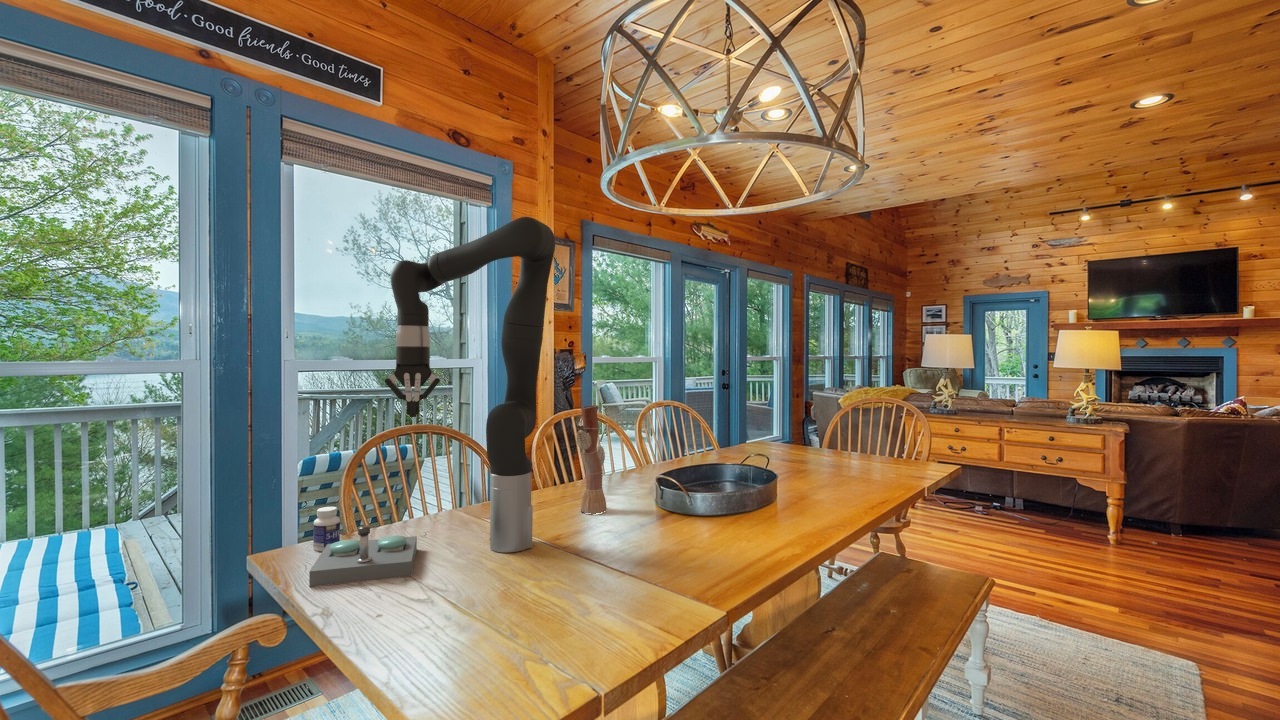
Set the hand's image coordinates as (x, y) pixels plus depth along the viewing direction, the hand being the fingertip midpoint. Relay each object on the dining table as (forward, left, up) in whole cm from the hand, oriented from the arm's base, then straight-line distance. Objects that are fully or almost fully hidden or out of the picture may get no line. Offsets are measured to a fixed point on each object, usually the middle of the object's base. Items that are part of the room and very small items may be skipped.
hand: (412, 416), depth 137 cm
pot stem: (+7, +23, -26) cm, 36 cm away
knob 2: (+3, +16, -29) cm, 33 cm away
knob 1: (+12, +16, -29) cm, 35 cm away
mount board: (+7, +18, -29) cm, 35 cm away
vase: (-46, -8, -29) cm, 55 cm away
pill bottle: (+18, +3, -29) cm, 34 cm away
